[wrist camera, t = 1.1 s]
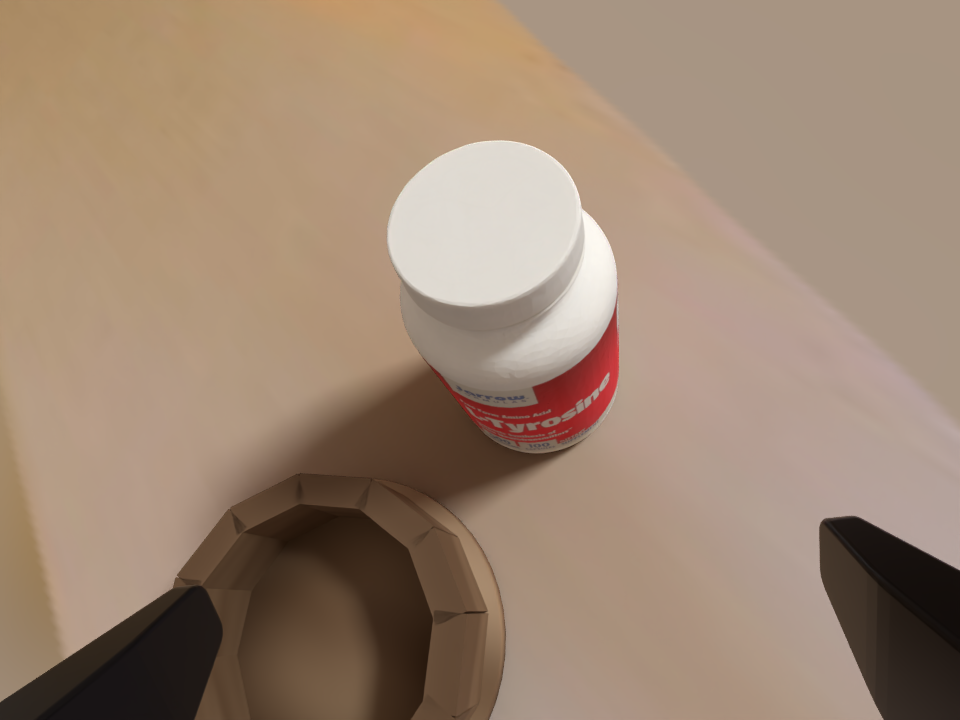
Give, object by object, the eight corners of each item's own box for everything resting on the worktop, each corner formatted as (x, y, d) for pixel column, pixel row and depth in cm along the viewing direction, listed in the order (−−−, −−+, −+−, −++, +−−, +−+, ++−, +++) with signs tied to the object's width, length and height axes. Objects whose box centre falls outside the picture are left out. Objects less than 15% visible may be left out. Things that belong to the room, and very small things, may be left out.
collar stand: (488, 854, 18) (454, 914, 15) (184, 785, 21) (93, 822, 17) (518, 493, 22) (497, 471, 19) (259, 474, 25) (198, 451, 21)
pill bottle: (477, 472, 23) (364, 367, 13) (455, 332, 26) (346, 155, 16) (638, 437, 22) (649, 296, 12) (599, 296, 25) (580, 84, 15)
